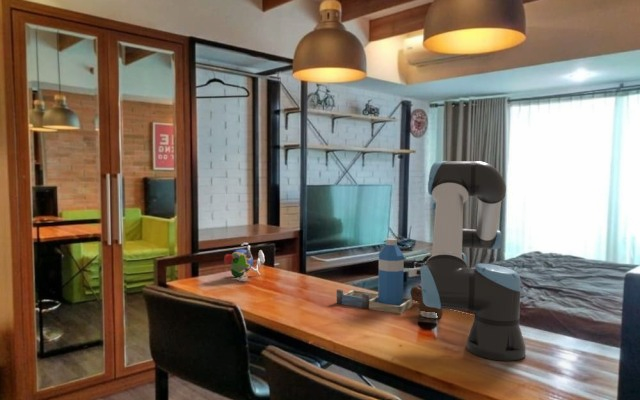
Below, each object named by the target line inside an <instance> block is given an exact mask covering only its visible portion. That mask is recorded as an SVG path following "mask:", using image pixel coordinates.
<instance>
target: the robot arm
mask: <svg viewBox="0 0 640 400" xmlns="http://www.w3.org/2000/svg"><path fill="white" fill-rule="evenodd" d="M427 191H428V195H430V196H431V198H432V199H433V201H434V202H435V211H434V226H433V239H432V240H433V241H432V251H431V252H432V253H431V254H429V255H426V256H424V257H423V259H419V260H417V259H414V258H413V259H404V268H403V269H408V273H407V274H408V277H409V278H411V277H419V276H420V279H421V280H420V282H421V288H422V297H423V303H424V304H425V305H426V306H428V307H434V308H438V309H442V310H443V309H444V310H453V311H467V312H473V313H474V314H473V317H474V318H473V322H472V325H471V328H470V331H469V332H468V336H467V339H466V349H467V350H468V351H469V352H470V353H472V354H473V355H476V356H478V357H482V358H484V359H488V360H494V361H502V362H504V361H505V362H511V361H517V360H522V359H524V358H525V357H526V351H527V350H526V348H527V347H526V344H525V340H524V337H523V334H522V333H523V332H522V329H521V327H520V312H521V310H520V309H521V292H522V288H521V276H520V274H519V273H518V272H517V271H516V270H513V269H512V268H509V267H505V266H502V265H497V264H492V263H476V264H475V266H474V268H468V258H467V255H466V254H465V253H464V252H463V248H466V249H467V248H469V249H470V248H471V249H485V250H499V249H500V248H501V247H502V232H501V231H500V230H498V227H499V218H500V212H501V205H502V201H503V200H504V198H505V196H506V192H507V185H506V181H505V179H504V177H503V175H502V174H501V173H500V172H499V170H498V169H497V168H495V167H494V166H493V165H492V164H489V163H487V162H485V161H479V160H478V161H477V160H476V161H473V160H471V161H470V160H469V161H468V160H467V161H465V160H464V161H463V160H461V161H459V160H458V161H456V160H455V161H452V160H451V161H450V160H444V161H435V162H433V164H432V165H431V167H430V170H429V175H428V181H427ZM469 197H476V198H477V199H478V203H477V217H476V228H474V229H473V228H464V204H465V203H466V202H467V201H468V199H469Z"/></svg>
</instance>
